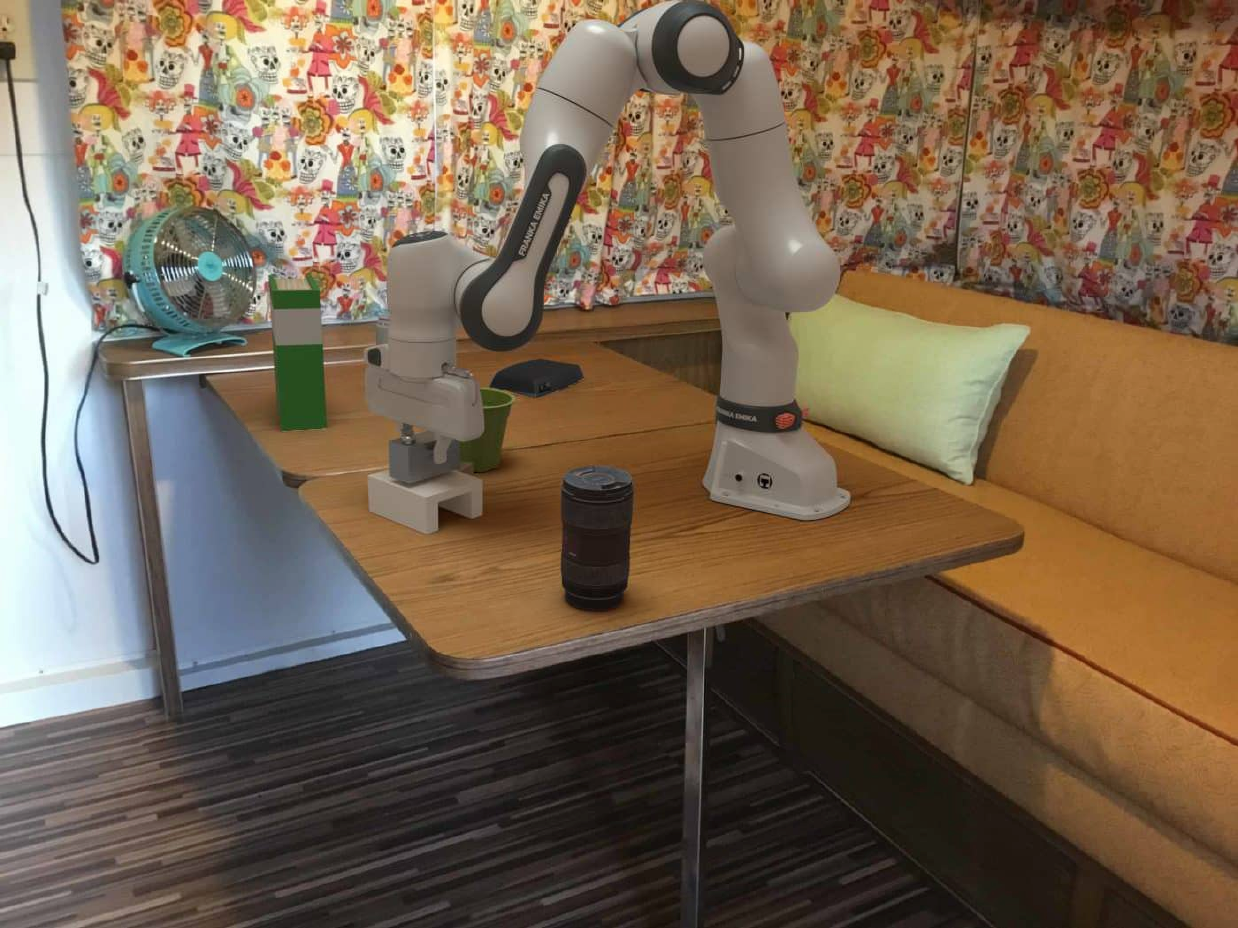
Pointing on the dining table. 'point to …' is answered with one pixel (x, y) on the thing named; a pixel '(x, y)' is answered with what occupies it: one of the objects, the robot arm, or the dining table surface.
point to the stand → (424, 498)
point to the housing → (419, 457)
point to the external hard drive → (536, 377)
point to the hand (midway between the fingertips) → (424, 457)
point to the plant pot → (489, 431)
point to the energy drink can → (382, 329)
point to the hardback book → (298, 353)
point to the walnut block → (466, 468)
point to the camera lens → (596, 536)
